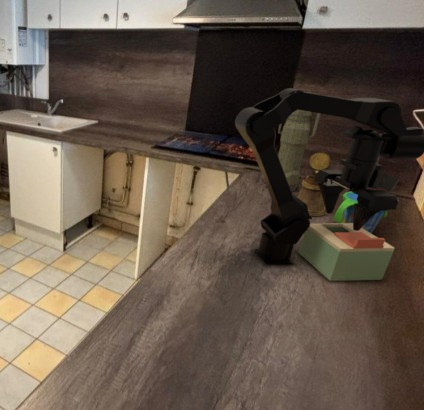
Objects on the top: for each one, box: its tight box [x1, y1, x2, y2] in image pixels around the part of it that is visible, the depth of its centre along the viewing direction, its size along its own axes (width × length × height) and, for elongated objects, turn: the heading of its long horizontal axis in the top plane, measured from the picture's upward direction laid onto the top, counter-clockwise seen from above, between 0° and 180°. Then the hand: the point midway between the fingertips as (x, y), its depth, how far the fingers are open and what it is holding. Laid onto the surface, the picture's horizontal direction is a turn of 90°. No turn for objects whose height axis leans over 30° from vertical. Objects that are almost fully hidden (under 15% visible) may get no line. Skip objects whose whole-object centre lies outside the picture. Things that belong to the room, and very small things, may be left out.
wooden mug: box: [297, 150, 332, 217], centre depth 115 cm, size 9×14×18 cm, turn 149°
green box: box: [298, 227, 394, 282], centre depth 85 cm, size 12×12×8 cm
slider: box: [334, 232, 386, 248], centre depth 80 cm, size 7×6×2 cm
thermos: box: [277, 90, 322, 193], centre depth 129 cm, size 9×12×35 cm
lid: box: [309, 222, 396, 252], centre depth 83 cm, size 12×12×1 cm
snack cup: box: [333, 191, 389, 234], centre depth 102 cm, size 16×10×10 cm
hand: (341, 221), depth 85 cm, fingers open, 9 cm apart
